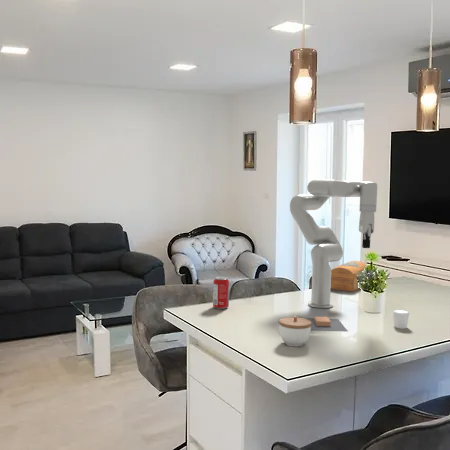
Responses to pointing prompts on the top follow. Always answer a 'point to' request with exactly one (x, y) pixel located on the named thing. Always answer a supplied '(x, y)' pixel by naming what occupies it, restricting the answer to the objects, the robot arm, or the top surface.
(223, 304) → the soda can
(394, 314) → the white cup
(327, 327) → the charcoal mat
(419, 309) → the top surface
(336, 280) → the wooden box
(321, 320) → the picture frame
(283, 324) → the lidded bowl
